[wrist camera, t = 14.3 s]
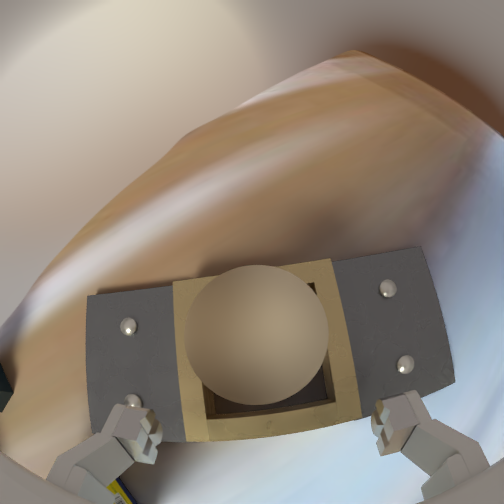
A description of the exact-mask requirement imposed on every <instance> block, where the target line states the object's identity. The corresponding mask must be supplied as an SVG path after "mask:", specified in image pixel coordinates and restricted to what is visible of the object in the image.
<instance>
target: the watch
mask: <svg viewBox="0 0 504 504" xmlns="http://www.w3.org/2000/svg"><path fill="white" fill-rule="evenodd" d="M12 395H13V391H12V389H11V387H10V384H9V382H8V380H7V378H6V376H5V373H4V371H3V368H2V366H1V364H0V412H2V411H3V410H4V408H5V406H6V405H7V403H8V401H9V400H10V398H11V396H12Z"/></svg>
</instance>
